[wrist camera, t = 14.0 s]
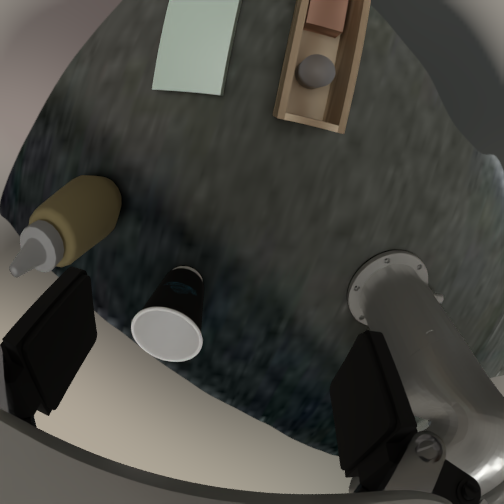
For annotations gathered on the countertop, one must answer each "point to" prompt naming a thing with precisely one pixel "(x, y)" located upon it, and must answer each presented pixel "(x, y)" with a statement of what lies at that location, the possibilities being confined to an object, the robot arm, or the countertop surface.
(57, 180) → the countertop surface
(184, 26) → the lid
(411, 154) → the countertop surface
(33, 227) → the squeeze bottle
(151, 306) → the dixie cup
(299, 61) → the box
